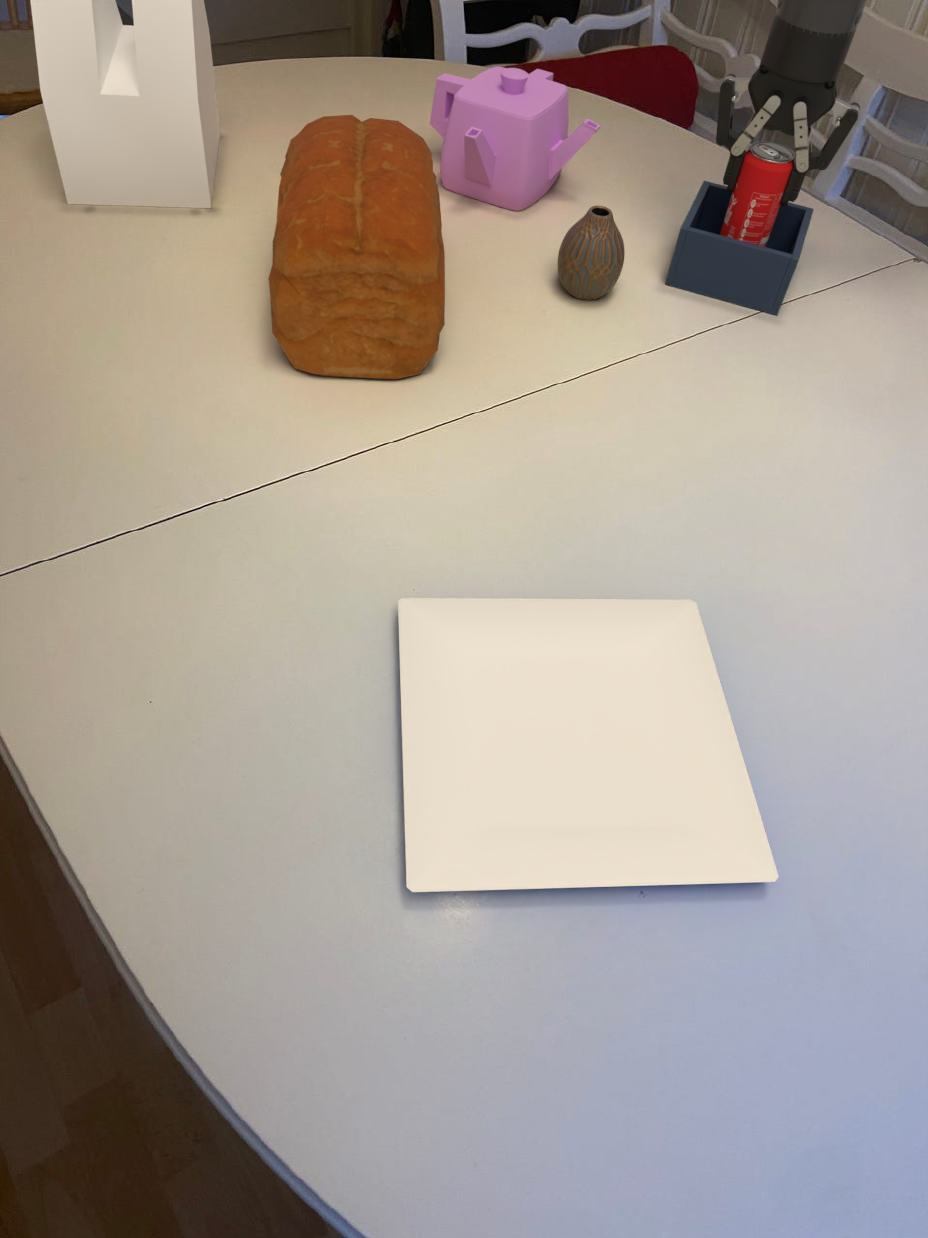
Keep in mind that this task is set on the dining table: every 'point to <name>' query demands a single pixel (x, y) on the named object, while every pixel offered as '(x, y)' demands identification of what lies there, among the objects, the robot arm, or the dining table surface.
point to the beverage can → (758, 192)
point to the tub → (736, 254)
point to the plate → (569, 748)
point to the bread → (358, 251)
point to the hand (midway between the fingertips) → (757, 195)
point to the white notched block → (129, 101)
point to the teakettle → (504, 134)
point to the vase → (591, 255)
